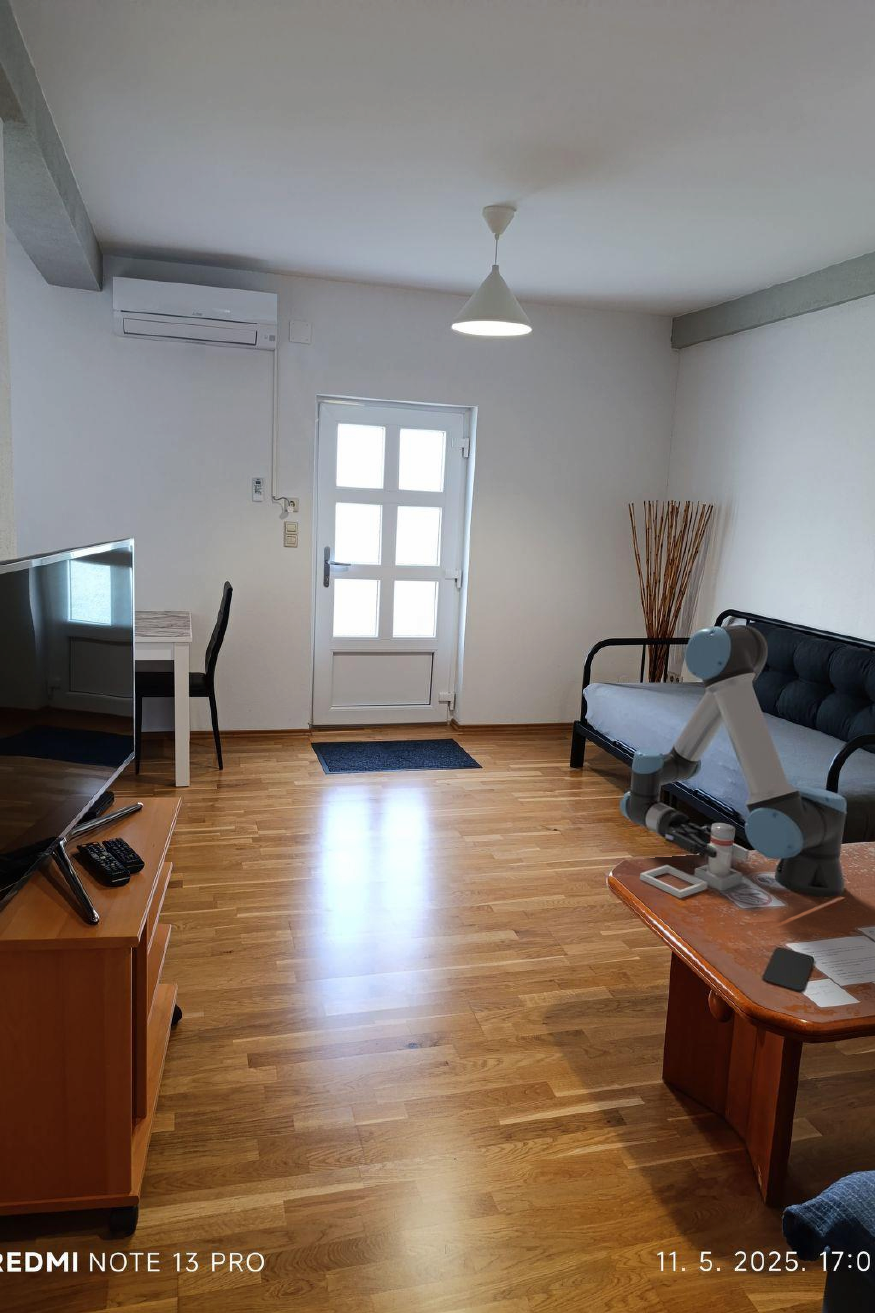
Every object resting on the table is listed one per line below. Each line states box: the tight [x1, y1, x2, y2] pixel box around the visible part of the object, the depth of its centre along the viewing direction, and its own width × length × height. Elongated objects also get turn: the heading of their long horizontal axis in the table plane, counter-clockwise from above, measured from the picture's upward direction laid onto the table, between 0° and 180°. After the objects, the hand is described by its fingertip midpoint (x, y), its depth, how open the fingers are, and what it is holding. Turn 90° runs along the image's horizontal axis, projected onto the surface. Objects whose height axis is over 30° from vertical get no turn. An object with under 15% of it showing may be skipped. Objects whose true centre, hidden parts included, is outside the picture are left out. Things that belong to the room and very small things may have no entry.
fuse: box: [707, 822, 736, 878], centre depth 209 cm, size 5×5×13 cm
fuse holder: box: [690, 863, 750, 895], centre depth 210 cm, size 11×9×3 cm
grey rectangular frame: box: [639, 864, 708, 899], centre depth 208 cm, size 12×10×2 cm
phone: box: [762, 946, 815, 993], centre depth 173 cm, size 7×1×15 cm
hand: (737, 858), depth 204 cm, fingers closed on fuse, 5 cm apart
